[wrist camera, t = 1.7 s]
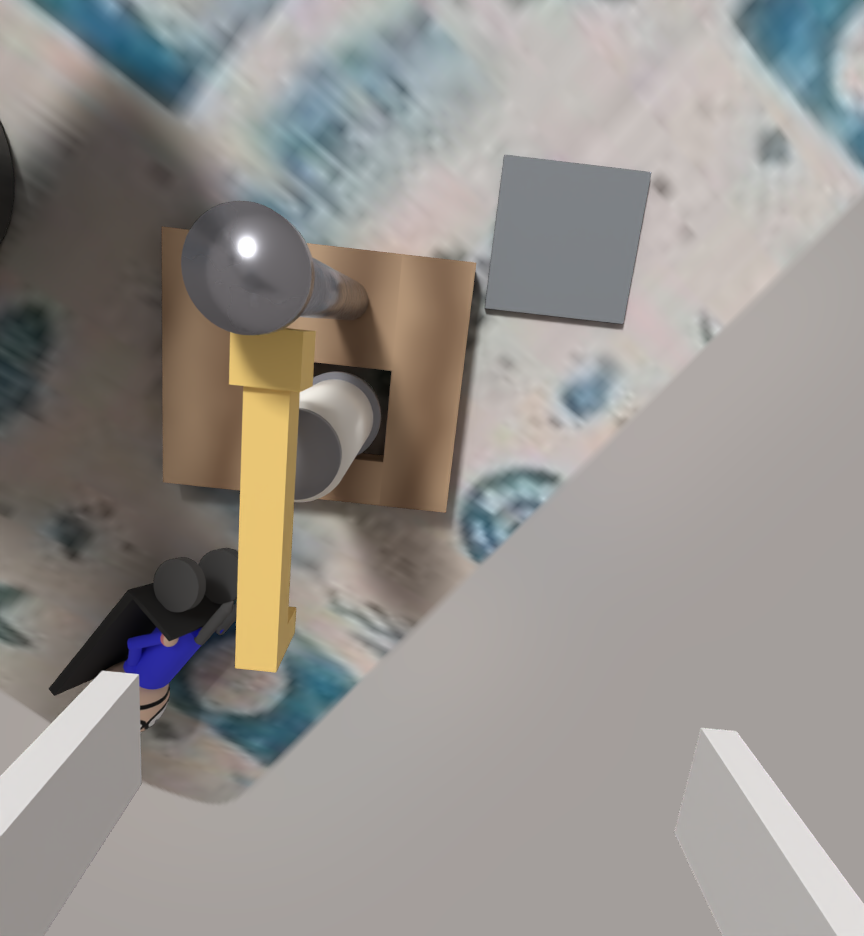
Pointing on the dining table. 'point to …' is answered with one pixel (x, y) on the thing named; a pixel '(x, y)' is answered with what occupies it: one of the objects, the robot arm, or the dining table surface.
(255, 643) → the bar
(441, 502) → the socket board
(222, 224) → the post
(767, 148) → the dining table surface
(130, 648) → the character figurine
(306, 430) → the plug
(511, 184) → the mat
